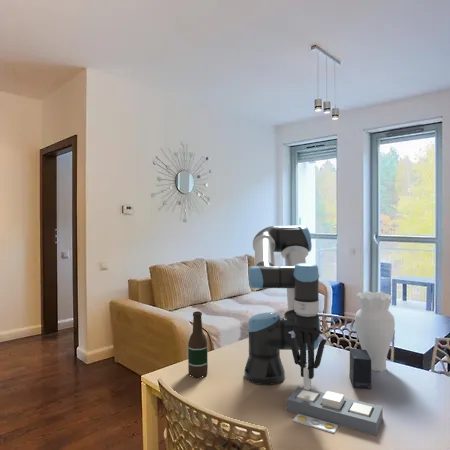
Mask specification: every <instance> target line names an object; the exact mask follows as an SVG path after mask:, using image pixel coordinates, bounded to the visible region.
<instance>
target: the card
mask: <svg viewBox="0 0 450 450" xmlns="http://www.w3.org/2000/svg"><path fill="white" fill-rule="evenodd" d="M292 421H293V422H294V423H298V424H301V425H305V426H308V427H312V428H315V429H318V430H321V431H325V432H328V433H332V434H335V433H336V432H337V429H338V428H339V425H337V424H333V423H330V422H326V421H322V420H319V419H315V418H312V417H308V416H305V415H301V414H298V413H297V414H296V415H295V417H294V418H293V420H292Z"/></svg>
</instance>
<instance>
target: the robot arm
mask: <svg viewBox="0 0 450 450" xmlns="http://www.w3.org/2000/svg"><path fill="white" fill-rule="evenodd" d="M252 249H253V250H254V266H253V265H252V266H249V267H248V286H249V287H250V288H251V289H286V297H287V298H286V299H287V310H286V311H285V312H284V315H283V316H284V317H280V315H279V313H277V312H271V311H269V312H267V311H266V312H261V313H260V312H259V313H256V314H254V315H253V316H251V317H250V318H249V320H248V328H247V331H248V357H247V360H246V364H245V367H244V378H245V380H247V381H248V382H250V383H253V384H257V385H264V386H266V385H267V386H269V385H270V386H271V385H275V384H280V383H282V382H283V381H284V380H285V378H286V376H285V375H286V374H285V373H286V372H285V368H284V364H283V362H282V358H281V356H280V352H281V351H280V350H282V351H283V350H284V351H286V350H287V351H288V350H289V351H290V350H291V352H292V356H293V357H292V358H293V361H294V364H295V365H299V367H300V377H301V378H303V388H304V389H306V390H309V389H310V388H312V380H313V378H314V376H315V369H318V367H319V366H320V365H321V361H322V358H323V353H324V349H325V345H326V344H327V342H328V341H329V338H328V337H327V336H324V335H323V334H322V333H321V319H320V315H319V312H320V305H319V304H320V302H319V301H320V300H319V299H320V298H319V295H320V294H319V292H320V290H319V288H320V287H319V284H320V283H319V281H320V280H319V277H320V273H319V266H318V265H317V264H315V263H312V262H311V263H309V262H307V261H306V258H307V257H308V256H309V253H311V251H312V237H311V233H310V230H309V228H308V227H307V226H306V225H298V224H296V225H272V226H271V225H270V226H267V227H264V228H263V229H261V230H259V231H258V232H257V234H255V236H254V238H253V240H252ZM275 253H280V255H281V257H282V258H283V259H284V262H285V263H284V264H285V265H283V266H282V265H276V264H275V263H276V262H275ZM316 349H317V350H316ZM315 350H316V354H315ZM310 390H311V389H310Z"/></svg>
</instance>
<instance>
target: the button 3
mask: <svg viewBox="0 0 450 450" xmlns="http://www.w3.org/2000/svg"><path fill="white" fill-rule="evenodd" d="M350 413H354V414H358V415H362V416H366V417H369V418H370V417H371V415H372V407H371V406H367V405H363V404H359V403H355V402H354V403H353V405H352V407H351V408H350Z"/></svg>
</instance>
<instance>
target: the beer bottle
mask: <svg viewBox="0 0 450 450" xmlns="http://www.w3.org/2000/svg"><path fill="white" fill-rule="evenodd" d="M202 315H203V312H201V311H199V310H198V311H193V312H192V318H193V319H192V333H191V335H190V336H189V339H188V343H187V345H188V346H187V353H188V354H187V355H188V367H187V368H188V376H189V375H191V376H193V377H202V376H204V377H206V376H205V375H208V369H209V368H208V364H209V363H208V360H209V359H208V339H207V336H206V334H205V333H204V332H203V322H202V319H203V318H202ZM191 376H190V377H191ZM193 377H192V378H193ZM202 378H203V377H202Z"/></svg>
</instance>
